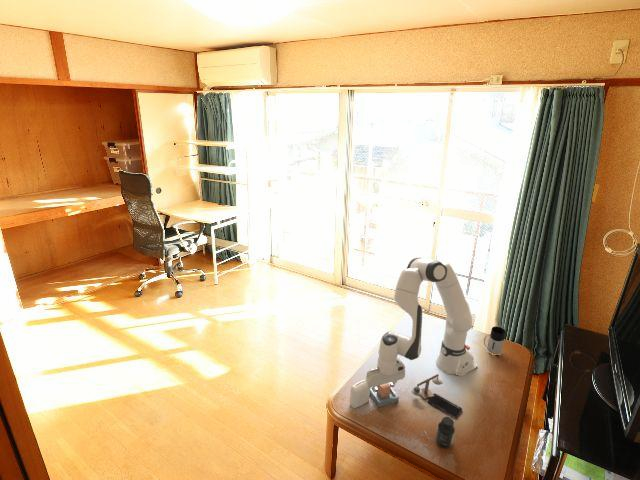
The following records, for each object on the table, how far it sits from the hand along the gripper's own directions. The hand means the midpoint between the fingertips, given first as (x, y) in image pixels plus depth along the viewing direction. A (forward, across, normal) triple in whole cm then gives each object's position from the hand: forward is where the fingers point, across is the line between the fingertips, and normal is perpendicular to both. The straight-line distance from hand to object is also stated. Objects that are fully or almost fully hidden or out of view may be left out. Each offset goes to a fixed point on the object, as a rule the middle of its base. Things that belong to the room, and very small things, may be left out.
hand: (383, 388), depth 182 cm
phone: (+5, +25, -15) cm, 30 cm away
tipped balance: (+5, +21, -6) cm, 22 cm away
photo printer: (+5, -13, 0) cm, 14 cm away
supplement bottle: (+5, +12, -32) cm, 34 cm away
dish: (+5, 0, 0) cm, 5 cm away
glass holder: (+5, +78, +10) cm, 78 cm away
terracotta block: (+4, 0, 0) cm, 4 cm away
